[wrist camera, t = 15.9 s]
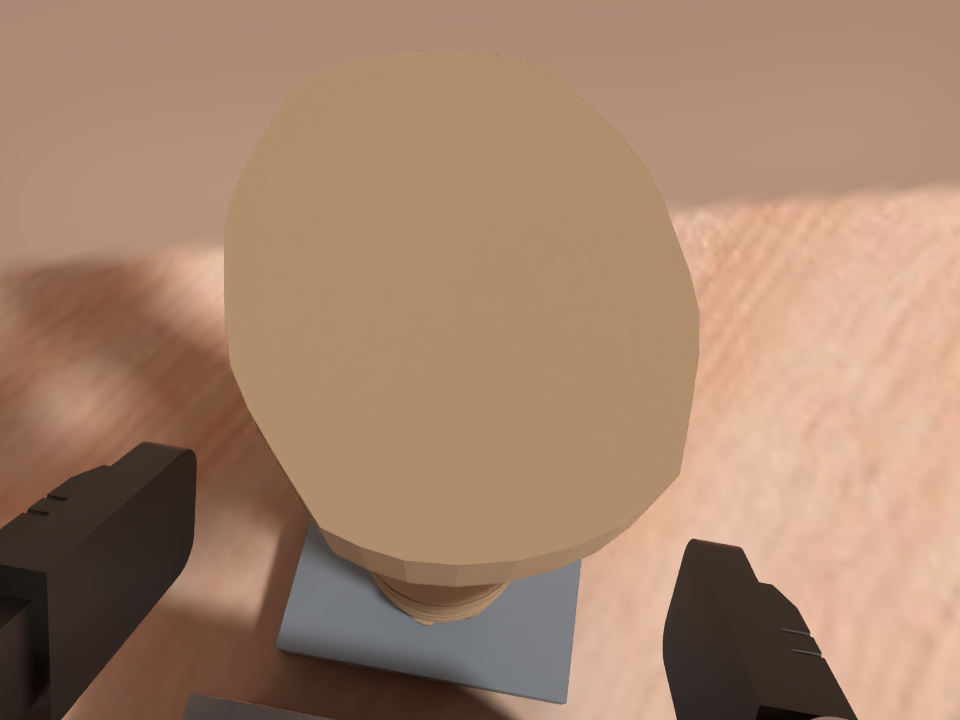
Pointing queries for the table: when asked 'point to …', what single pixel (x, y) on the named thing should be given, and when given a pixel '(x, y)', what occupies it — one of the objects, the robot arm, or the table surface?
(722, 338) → the table surface
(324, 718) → the socket block
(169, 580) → the robot arm
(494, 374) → the handle
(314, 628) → the rubber mat
